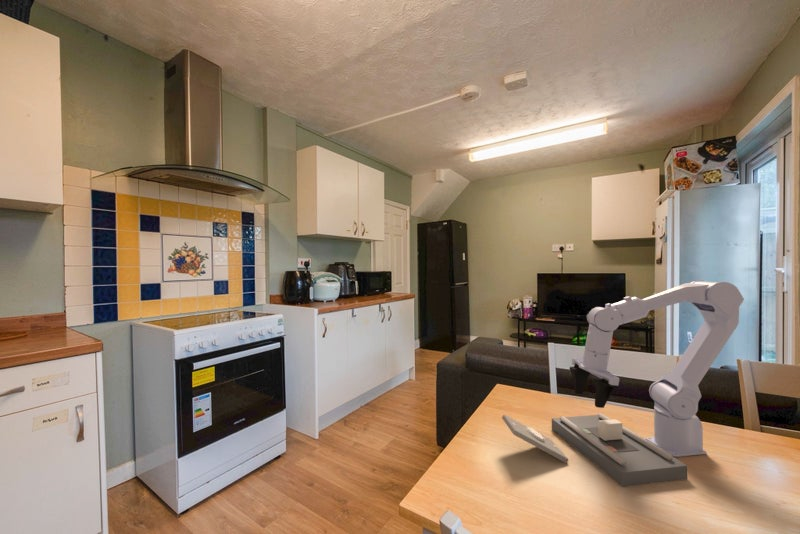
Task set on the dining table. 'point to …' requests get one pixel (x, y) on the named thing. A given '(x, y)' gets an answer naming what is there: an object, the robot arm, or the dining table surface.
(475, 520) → the dining table surface
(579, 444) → the box
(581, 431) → the pair of cream rails
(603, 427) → the lever
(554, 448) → the light switch
